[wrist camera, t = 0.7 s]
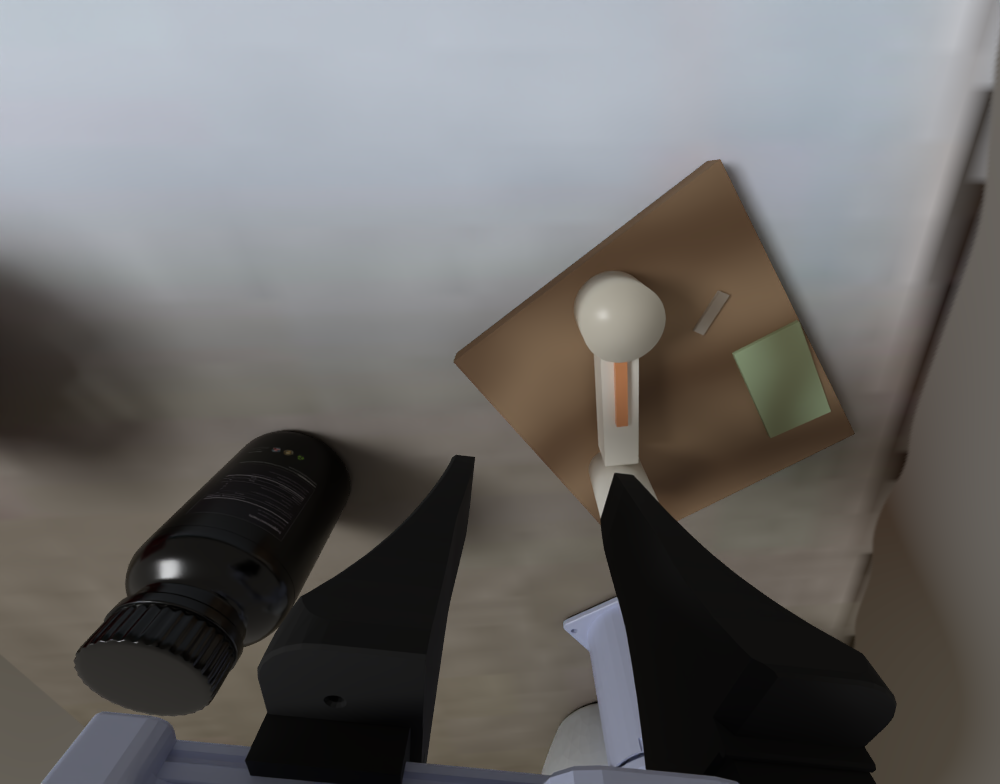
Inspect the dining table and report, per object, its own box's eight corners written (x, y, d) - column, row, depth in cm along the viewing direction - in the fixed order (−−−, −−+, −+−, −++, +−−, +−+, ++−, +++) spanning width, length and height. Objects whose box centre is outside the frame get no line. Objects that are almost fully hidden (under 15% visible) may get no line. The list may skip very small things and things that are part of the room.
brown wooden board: (838, 421, 22) (857, 435, 21) (617, 533, 27) (622, 550, 25) (707, 161, 17) (722, 159, 16) (456, 353, 21) (453, 363, 20)
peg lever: (644, 485, 23) (664, 531, 20) (586, 491, 23) (597, 537, 20) (646, 265, 17) (674, 282, 14) (571, 276, 18) (582, 295, 15)
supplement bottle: (344, 526, 27) (233, 747, 16) (240, 497, 26) (51, 710, 16) (364, 446, 24) (245, 653, 13) (247, 410, 23) (20, 601, 13)
